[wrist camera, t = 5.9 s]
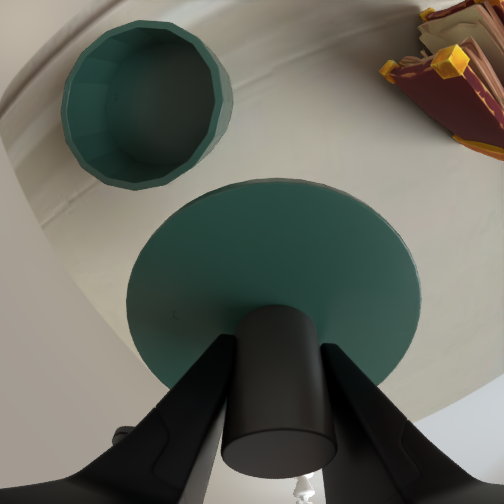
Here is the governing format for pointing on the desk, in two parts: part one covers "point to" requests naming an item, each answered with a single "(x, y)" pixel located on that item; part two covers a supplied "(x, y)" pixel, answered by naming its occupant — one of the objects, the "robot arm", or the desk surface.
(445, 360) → the desk surface
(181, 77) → the pot
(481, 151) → the book monster
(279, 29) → the desk surface
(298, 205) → the pot lid
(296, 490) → the chess piece
